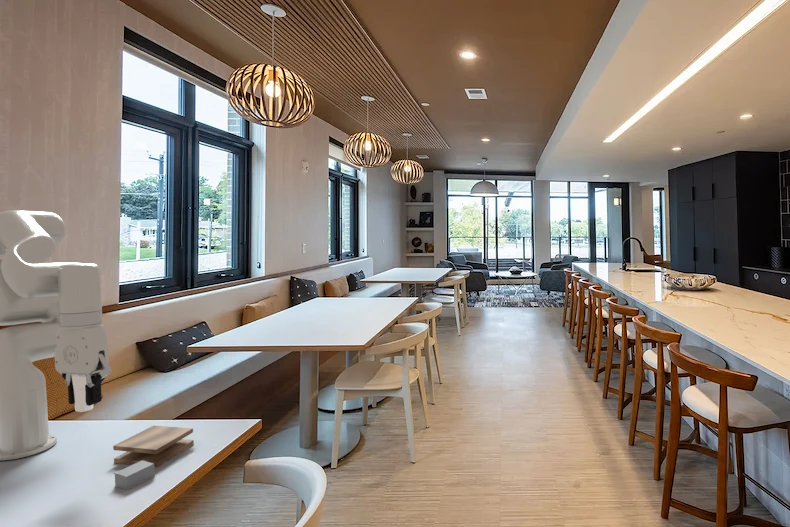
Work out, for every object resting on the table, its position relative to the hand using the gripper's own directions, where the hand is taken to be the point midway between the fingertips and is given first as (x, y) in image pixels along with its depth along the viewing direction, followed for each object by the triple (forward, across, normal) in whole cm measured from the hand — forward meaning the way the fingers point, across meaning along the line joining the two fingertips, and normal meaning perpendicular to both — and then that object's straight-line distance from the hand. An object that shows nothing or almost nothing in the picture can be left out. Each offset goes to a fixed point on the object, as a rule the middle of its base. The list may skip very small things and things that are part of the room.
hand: (85, 401), depth 95 cm
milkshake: (+2, 0, 0) cm, 2 cm away
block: (+16, +13, 0) cm, 21 cm away
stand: (+16, +7, +12) cm, 21 cm away
